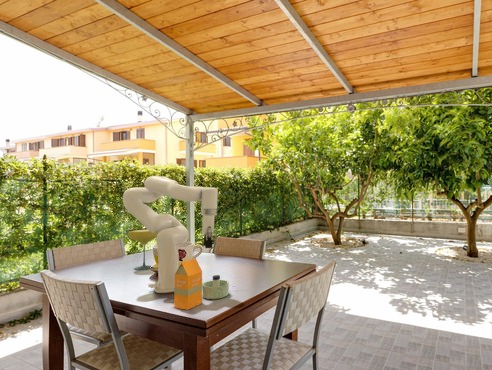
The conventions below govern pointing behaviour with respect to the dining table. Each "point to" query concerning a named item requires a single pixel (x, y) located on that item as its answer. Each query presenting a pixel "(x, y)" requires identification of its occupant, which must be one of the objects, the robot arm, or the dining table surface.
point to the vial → (216, 280)
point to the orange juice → (188, 285)
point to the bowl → (215, 290)
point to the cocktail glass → (142, 241)
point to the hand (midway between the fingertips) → (207, 246)
